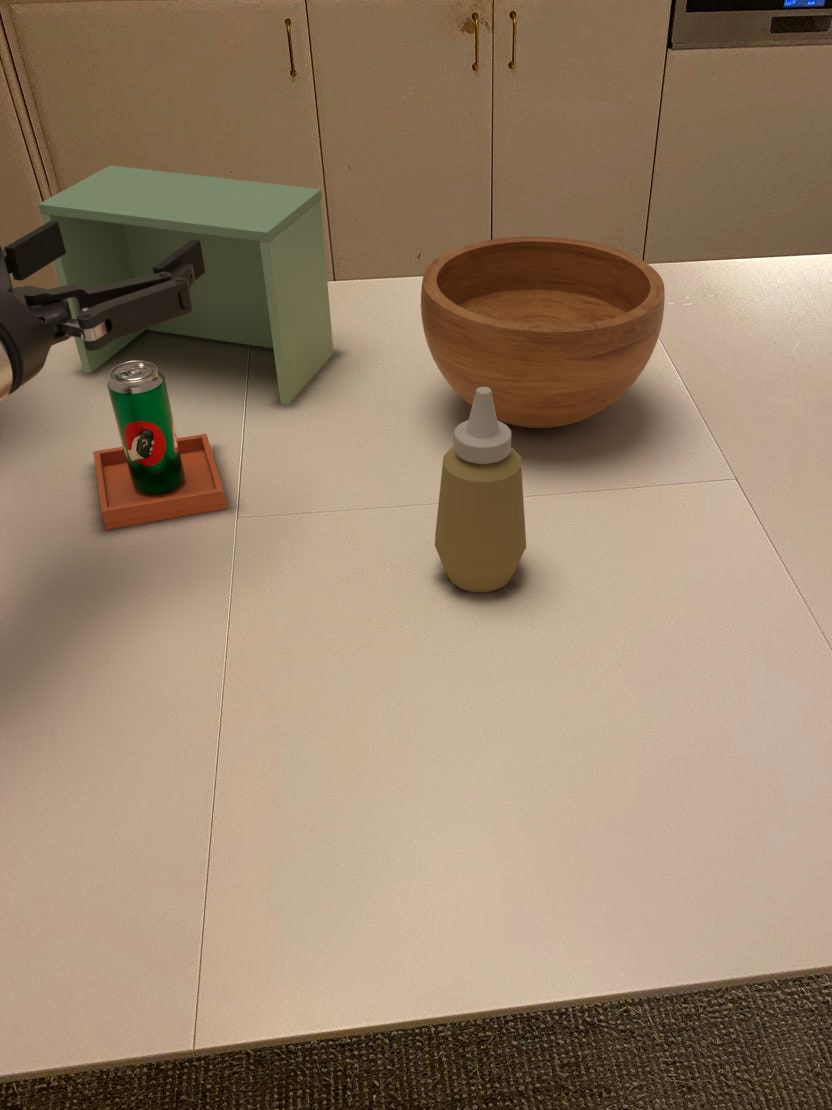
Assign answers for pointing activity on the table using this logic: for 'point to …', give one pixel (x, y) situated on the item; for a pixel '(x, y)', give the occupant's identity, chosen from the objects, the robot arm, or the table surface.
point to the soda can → (146, 427)
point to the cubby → (206, 259)
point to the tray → (189, 498)
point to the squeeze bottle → (481, 502)
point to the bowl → (541, 325)
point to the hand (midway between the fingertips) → (127, 246)
